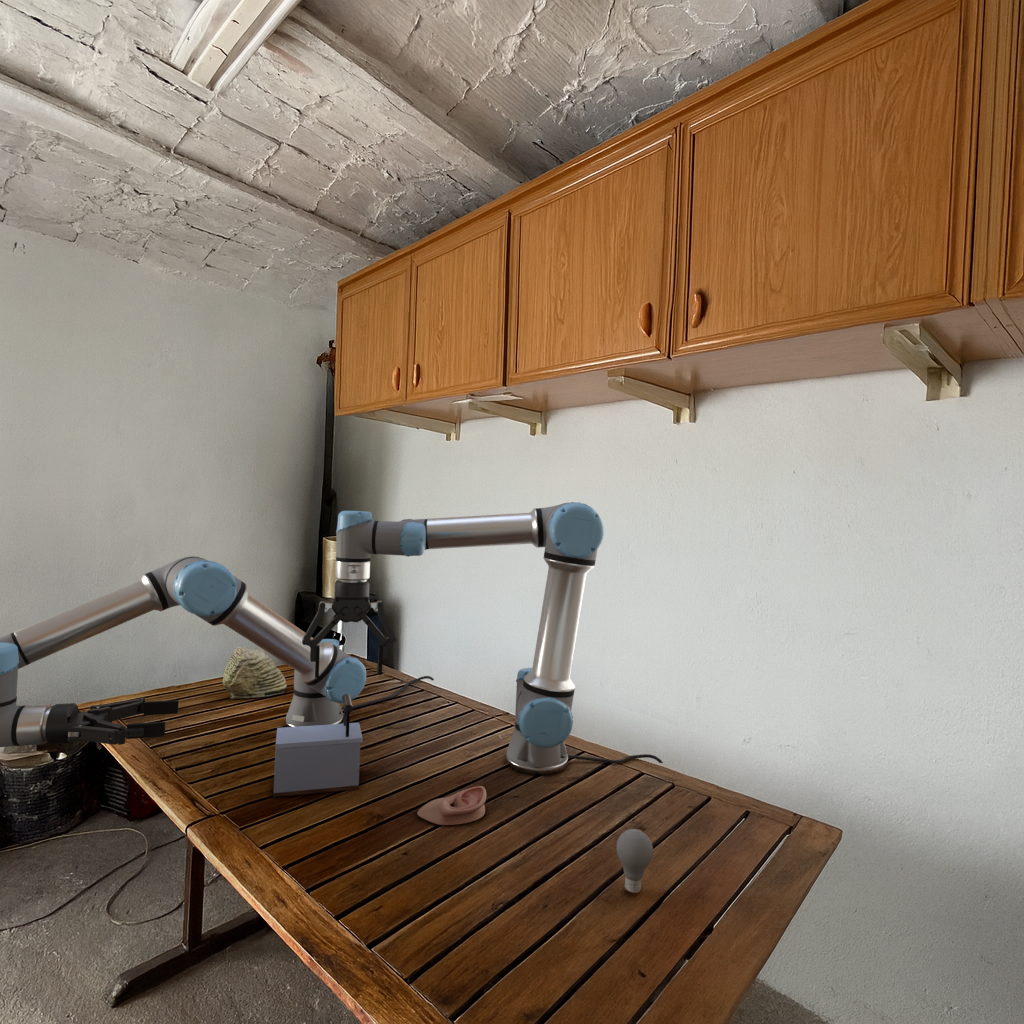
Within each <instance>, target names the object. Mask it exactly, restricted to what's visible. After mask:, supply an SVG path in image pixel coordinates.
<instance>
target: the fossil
mask: <svg viewBox="0 0 1024 1024" xmlns="http://www.w3.org/2000/svg"><path fill="white" fill-rule="evenodd" d="M222 676H223V677H222V685H223V687H224V688H225V690H226V691H228V693H229V698H230V699H250V698H264V697H271V696H275V695H281V694H284V693H285V691H286V689H287V687H288V686H287V680H286V678H285V676H284V674H283V673H282V672H281V669H279V668H278V667H277V665H276V663H275V662H274V660H273V659H272V658H271V657H270V656H269V655H268V654H267V653H266V651H265V650H264V649H262V648H260V647H258V648H251V647H247V646H246V647H245V646H238V647H237V648H236V649H235V650H233V651H232V653H231V656H230V657H229V659H228V660H227V663H226V666H225V668H224V671H223V675H222Z"/></svg>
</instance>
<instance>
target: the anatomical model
mask: <svg viewBox="0 0 1024 1024" xmlns="http://www.w3.org/2000/svg"><path fill="white" fill-rule="evenodd" d="M487 796H488V795H487V789H486V788H485V787H484V786H482V785H477V786H473V787H469V788H466V789H463V790H460V791H457V792H456V793H454V794H451V795H448V796H446V797H440V798H436V799H433V800H430V801H429V802H427V803H426V804H424V805H423V806H421V807H420V808H419V809H418V811H416V812H417V816H418V817H419V818H421V819H423V820H425V821H427V822H429V823H432V824H435V825H439V826H454V825H462V824H468V823H471V822H475V821H477V820H479V819H481V818H483V817H484V815H485V813H486V806H485V803H486V802H487Z"/></svg>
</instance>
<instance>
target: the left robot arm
mask: <svg viewBox="0 0 1024 1024" xmlns="http://www.w3.org/2000/svg"><path fill="white" fill-rule="evenodd" d="M178 606H180V607H182V608H183V609H184V610H185V611H187V612H188V613H190V614H193V615H195V616H196V617H198V618H200V619H201V620H203V621H205V622H206V623H207V624H209V625H211V626H213V627H214V626H220V625H224V626H225V627H227V628H229V629H230V630H232V631H234V632H235V633H237V634H238V635H240V636H241V637H243V638H245V639H246V640H248V641H249V642H251V643H253V644H254V645H256V646H257V647H258V648H261V649H263V650H264V652H267V653H268V654H269V655H271V656H273V657H274V658H276V659H278V660H279V661H281V662H283V663H284V664H285V665H287V666H289V668H292V669H293V670H294V672H293V695H292V696H293V697H292V699H291V702H290V704H289V708H288V711H287V713H286V715H285V727H299V726H315V725H330V724H343V723H344V707H343V706H341V704H343V701H342V696H343V695H344V694H349V695H350V697H351V701H353V700H354V699H356V698H357V697H358V696H359V695H360V694H361V693H362V691H363V689H364V687H365V685H366V682H367V670H366V667H365V665H364V664H363V662H361V661H360V659H359V658H357V657H354V656H351V655H349V654H348V653H347V652H346V651H344V650H342V649H341V648H340V647H341V646H340V641H339V640H338V639H335V638H323V639H322V641H321V642H320V643H319V644H318V645H320V658H319V678H315V662H311V660H310V649H311V648H310V647H309V646H307V645H303V644H302V639H303V637H304V635H305V634H306V632H305V631H303V630H302V629H301V628H299V627H297V626H296V625H295V624H293V623H292V622H291V621H289V620H287V619H286V618H285V617H283V616H281V615H280V614H279V613H277V612H276V611H274V610H273V609H271V608H270V607H268V606H267V605H266V604H264V603H263V602H261V601H260V600H258V599H257V598H255V597H254V596H252V595H250V594H249V593H248V585H247V583H246V582H244V581H242V580H241V579H239V578H238V577H237V576H235V575H233V574H232V572H231V571H230V569H229V568H227V567H226V566H224V565H223V564H221V563H219V562H217V561H214V560H213V561H212V560H208V559H206V558H203V557H200V556H194V555H193V556H183V557H181V558H178V559H176V560H173V561H171V562H169V563H166V564H165V565H163V566H160V567H158V568H156V569H153V570H151V571H149V572H146V573H144V574H142V576H141V577H140V580H139V581H138V580H137V581H136V582H133V583H131V584H128V585H127V586H123V587H120V588H119V589H116V590H113V591H111V592H109V593H106V594H104V595H101V596H99V597H96V598H94V599H91V600H89V601H86V602H84V603H82V604H79V605H77V606H74V607H72V608H69V609H67V610H64V611H62V612H59V613H57V614H54V615H52V616H50V617H47V618H45V619H43V620H40V621H38V622H35V623H33V624H30V625H28V626H25V627H23V628H20V629H17V630H15V631H13V632H11V633H8V634H5V635H3V636H1V637H0V748H8V747H9V748H11V747H23V746H29V748H32V749H33V748H35V747H36V746H37V745H38V746H39V745H46V744H47V743H48V744H49V745H59V744H71V743H72V742H88V743H95V744H106V745H113V746H115V745H118V746H120V745H121V746H122V745H125V744H126V740H131V739H133V740H134V739H149V738H165V736H166V721H151V722H133V723H127V724H126V726H125V725H122V724H118V723H114V722H115V721H119V720H123V719H127V718H131V717H135V716H139V715H143V716H157V715H158V716H159V715H160V716H161V715H177V714H179V702H180V701H179V699H174V700H173V699H172V700H171V699H170V700H169V699H168V700H152V701H151V700H149V701H146V697H140V698H136V699H129V700H123V701H116V702H112V703H105V704H95V705H94V704H92V705H90V706H89V709H88V710H86V711H85V710H84V711H80V708H79V705H78V704H77V703H74V702H69V703H68V702H67V703H55V704H54V705H52V703H44V704H43V703H41V704H27V705H19V704H17V700H18V696H17V695H18V694H17V693H18V692H17V691H18V678H19V677H18V676H19V669H22V668H24V667H26V666H29V665H31V664H33V663H35V662H37V661H40V660H43V659H44V658H46V657H49V656H52V655H54V654H56V653H58V652H61V651H63V650H65V649H67V648H69V647H72V646H74V645H77V644H79V643H81V642H84V641H86V640H88V639H90V638H94V637H96V636H97V635H100V634H102V633H105V632H106V631H109V630H111V629H114V628H115V627H118V626H121V625H122V624H125V623H127V622H130V621H132V620H134V619H136V618H138V617H141V616H144V615H145V614H148V613H150V612H153V611H157V612H162V611H165V610H169V609H170V608H173V607H178ZM314 638H315V637H311V640H313V639H314ZM425 679H429V680H430V681H435V679H434V677H432V676H430V675H424V676H420V677H418V678H415V679H413V680H410V681H408V682H407V683H406V684H404V686H402V687H401V688H400V689H399V690H398V691H396V692H395V693H393V694H390V695H388V696H384V697H381V698H377V699H373V700H369V701H366V702H362V703H359V704H353V705H352V706H353V710H354V709H357V708H361V707H365V706H369V705H373V704H376V703H380V702H384V701H387V700H390V699H393V698H395V697H397V696H398V695H400V694H401V693H402V692H403V691H404V690H406V689H407V688H408V687H409V686H410V685H411V684H414V683H416V682H420V681H422V680H425Z"/></svg>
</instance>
